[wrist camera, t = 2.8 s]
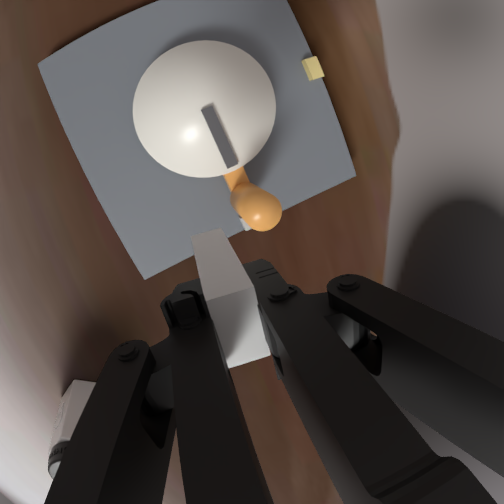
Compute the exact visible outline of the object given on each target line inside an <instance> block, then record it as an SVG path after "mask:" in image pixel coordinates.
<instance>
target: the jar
mask: <svg viewBox="0 0 504 504" xmlns="http://www.w3.org/2000/svg"><path fill="white" fill-rule="evenodd" d="M95 384H96V382H89V381H83V380H76V379H74V380H73V382H72V383H71V385H70V386H69V387H68V389H67V390H66V392H65V393H64V395H63V396H62V398H61V401H60V405H59V409H58V413H57V417H56V421H55V425H54V429H53V434H52V438H51V443H50V448H49V460H48V461H49V462H48V472H49V474H50V476H51V477H52V478H53V479H54V477H55V474H56V472H57V469H58V467H59V464H60V462H61V460H62V457H63V455H64V452H65V450H66V448H67V445H68V443H69V441H70V438H71V436H72V434H73V431H74V429H75V427H76V425H77V423H78V420H79V418H80V416H81V414H82V412H83V409H84V407H85V405H86V403H87V401H88V399H89V397H90V394H91V392H92V390H93V388H94V386H95Z"/></svg>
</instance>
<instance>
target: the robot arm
mask: <svg viewBox="0 0 504 504" xmlns="http://www.w3.org/2000/svg"><path fill="white" fill-rule="evenodd" d="M191 240H192V245H193V249H194V254H195V259H196V263H197V268H198V272H199V277H200V278H198V279H195V280H191V281H188V282H185V283H181V284H178V285H177V286H176V287H175V289H174V290H173V293H172V294H170V295H169V296H167V297H166V298H165V299H164V300H163V301H162V302H161V305H160V307H161V309H162V312H163V314H164V317H165V319H166V322H167V324H168V327H169V333H170V335H169V336H168V337H167V338H166V339H164V340H163V341H161V342H159V343H158V344H156V345H154V346H152V347H149V346H148V344H147V343H146V342H145V341H142V340H132V341H127V342H125V343H122V344H121V345H119V346H118V347H117V348H115V349H114V350H113V352H112V353H111V354H110V356H109V358H108V360H107V362H106V364H105V366H104V368H103V370H102V372H101V374H100V376H99V378H98V380H97V382H96V384H95V386H94V388H93V390H92V392H91V394H90V397H89V399H88V401H87V403H86V405H85V407H84V409H83V412H82V414H81V416H80V418H79V420H78V423H77V425H76V427H75V429H74V431H73V434H72V436H71V438H70V441H69V443H68V445H67V448H66V450H65V452H64V455H63V457H62V460H61V462H60V464H59V467H58V469H57V472H56V474H55V477H54V479H53V482H52V484H51V487H50V490H49V492H48V495H47V498H46V500H45V503H44V504H162V500H163V495H164V489H165V483H166V478H167V472H168V467H169V462H170V456H171V451H172V446H173V441H174V436H175V430H176V429H177V438H178V447H179V455H180V463H181V471H182V478H183V485H184V491H185V498H186V504H274V502H273V499H272V497H271V494H270V491H269V488H268V486H267V483H266V480H265V477H264V474H263V471H262V469H261V466H260V463H259V460H258V457H257V454H256V451H255V448H254V445H253V442H252V439H251V436H250V433H249V430H248V427H247V424H246V421H245V418H244V415H243V412H242V408H241V405H240V402H239V399H238V396H237V393H236V389H235V386H234V383H233V379H232V376H231V374H230V371H229V368H231V367H234V366H238V365H241V364H244V363H247V362H251V361H254V360H257V359H260V358H263V357H266V356H269V355H270V351H269V348H270V350H271V352H272V356H273V361H274V365H275V369H276V373H277V378H278V380H280V379H282V381H283V383H284V385H285V387H286V389H287V392H288V394H289V396H290V398H291V400H292V402H293V404H294V406H295V408H296V410H297V412H298V414H299V416H300V418H301V420H302V422H303V424H304V426H305V428H306V430H307V432H308V434H309V436H310V438H311V440H312V442H313V444H314V446H315V448H316V450H317V452H318V454H319V456H320V458H321V460H322V462H323V464H324V466H325V468H326V470H327V472H328V474H329V476H330V478H331V480H332V482H333V483H334V485H335V487H336V489H337V491H338V493H339V495H340V497H341V499H342V501H343V503H344V504H497V503H496V501H495V500H494V499H493V498H492V497H491V495H490V494H489V493H488V492H487V491H486V489H485V488H484V487H483V486H482V484H481V483H480V482H479V481H478V480H477V478H476V477H475V476H474V475H473V473H472V472H471V471H470V470H469V469H468V467H466V466H465V465H464V464H463V463H462V462H461V461H460V460H458V459H456V458H454V457H452V456H451V457H440V456H438V455H437V454H436V453H435V452H433V450H432V449H431V448H430V447H429V446H428V444H427V443H426V442H425V441H424V439H423V438H422V437H421V435H420V434H419V433H418V432H417V430H416V429H415V428H414V427H413V426H412V424H411V423H410V422H409V421H408V419H407V418H406V417H405V416H404V414H403V413H402V412H401V411H400V409H399V408H398V407H397V406H396V404H394V402H396V403H397V404H399V405H400V406H401V407H403V408H404V409H405V410H407V411H408V412H410V413H411V414H412V415H414V416H415V417H417V418H418V419H419V420H421V421H422V422H424V423H425V424H426V425H428V426H429V427H431V428H432V429H434V430H435V431H436V432H438V433H439V434H441V435H442V436H443V437H445V438H446V439H448V440H449V441H451V442H452V443H454V444H455V445H456V446H458V447H459V448H461V449H462V450H464V451H465V452H467V453H468V454H470V455H471V456H473V457H474V458H475V459H477V460H479V461H480V462H481V463H483V464H485V465H486V466H487V467H489V468H490V469H492V470H493V471H495V472H496V473H498V474H499V475H501V476H502V477H504V342H502V341H501V340H499V339H497V338H494V337H492V336H490V335H488V334H486V333H484V332H482V331H480V330H478V329H476V328H473V327H471V326H469V325H467V324H465V323H463V322H461V321H459V320H457V319H455V318H453V317H450V316H448V315H446V314H444V313H442V312H440V311H437V310H435V309H433V308H431V307H429V306H427V305H424V304H422V303H420V302H418V301H416V300H414V299H412V298H409V297H407V296H405V295H403V294H401V293H398V292H396V291H394V290H392V289H390V288H387V287H385V286H383V285H381V284H379V283H377V282H374V281H372V280H370V279H368V278H365V277H363V276H360V275H354V274H345V275H340V276H338V277H336V278H333V279H332V280H331V281H329V283H328V284H327V292H325V293H318V294H304V293H303V292H302V290H301V289H300V288H298V287H297V286H294V285H290V284H287V283H286V282H285V280H284V279H283V278H282V277H281V275H280V274H279V273H278V272H277V270H276V269H275V268H274V267H273V265H272V264H271V263H270V262H268V261H266V260H263V259H259V260H256V261H253V262H249V263H246V264H241V262H240V261H239V259H238V257H237V255H236V254H235V252H234V250H233V248H232V246H231V245H230V243H229V241H228V239H227V238H226V236H225V234H224V232H223V230H222V229H221V228H218V229H214V230H211V231H207V232H204V233H200V234H197V235H193V236H191ZM370 330H371V331H373V332H374V333H375V334H376V335H377V337H376V336H374V335H372V334H371V333H370ZM268 346H269V347H268ZM391 399H392V400H393V401H394V402H393V401H392V400H391Z"/></svg>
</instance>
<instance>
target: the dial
mask: <svg viewBox="0 0 504 504" xmlns="http://www.w3.org/2000/svg"><path fill="white" fill-rule="evenodd" d="M275 116H276V100H275V94H274V89H273V87H272V84H271V81H270V79H269V77H268V75H267V73H266V72H265V71H264V69H263V68H262V66H261V65H260V64H259V63H258V62H257V61H256V60H255V59H254V58H253V57H252V56H250V55H249V54H248V53H246V52H245V51H243V50H242V49H240V48H238V47H235V46H233V45H230V44H227V43H224V42H219V41H210V40H202V41H193V42H188V43H184V44H181V45H179V46H176V47H174V48H172V49H170V50H168V51H167V52H165V53H164V54H162V55H161V56H159V57H158V58H157V59H156V60H155V61H154V62H153V63H152V64H151V65H150V66H149V67H148V68H147V70H146V71H145V73H144V74H143V76H142V77H141V79H140V81H139V83H138V86H137V89H136V92H135V95H134V100H133V121H134V126H135V130H136V132H137V135H138V138H139V140H140V141H141V143H142V145H143V147H144V148H145V149H146V151H147V152H148V153H149V154H150V155H151V156H152V157H153V158H154V159H155V160H156V161H157V162H158V163H160V164H161V165H162V166H164V167H166V168H167V169H169V170H171V171H173V172H176V173H178V174H181V175H185V176H189V177H198V178H208V177H216V176H220V175H223V176H224V179H225V181H226V183H227V185H228V187H229V190H230V192H231V195H230V203H231V205H232V207H233V209H234V210H235V211H236V212H237V213H238V214H239V215H240V216H241V217H242V219H243V220H244V221H245V222H246V223H247V224H248V225H249V226H250V227H251V228H252V229H254V230H257V231H267V230H270V229H272V228H273V227H274V226H276V225H277V223H278V222H279V220H280V218H281V215H282V207H281V203H280V201H279V200H278V199H277V198H276V197H275V196H274V195H272V194H270V193H269V192H267V191H265V190H263V189H262V188H260V187H258V186H256V185H254V184H252V183H250V181H249V179H248V177H247V175H246V172H245V170H244V168H243V166H244V165H245V164H246V163H248V162H249V161H250V160H252V159H253V158H254V157H255V156H256V155H257V154H258V153H259V151H260V150H261V149H262V148H263V146H264V145H265V143H266V142H267V140H268V138H269V136H270V134H271V131H272V128H273V125H274V121H275Z"/></svg>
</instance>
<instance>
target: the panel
mask: <svg viewBox="0 0 504 504" xmlns="http://www.w3.org/2000/svg"><path fill="white" fill-rule="evenodd" d="M202 40H210V41H219V42H224V43H227V44H230V45H233V46H235V47H238V48H240V49H242V50H243V51H245V52H246V53H248V54H249V55H250V56H252V57H253V58H254V59H255V60H256V61H257V62H258V63H259V64H260V65H261V66H262V68H263V69H264V71H265V72H266V73H267V75H268V77H269V79H270V81H271V84H272V87H273V89H274V94H275V100H276V116H275V121H274V125H273V128H272V131H271V134H270V136H269V138H268V140H267V142H266V143H265V145H264V146H263V148H262V149H261V150H260V151H259V153H258V154H257V155H256V156H255V157H254V158H253V159H252V160H250V161H249V162H248V163H246V164H245V165H244V166H243V168H244V170H245V172H246V175H247V177H248V179H249V181H250V183H252V184H254V185H256V186H258V187H260V188H262V189H263V190H265V191H267V192H269V193H270V194H272V195H274V196H275V197H276V198H277V199H278V200H279V201H280V203H281V207H282V211H283V210H285V209H287V208H289V207H291V206H294V205H296V204H298V203H300V202H302V201H304V200H306V199H308V198H310V197H312V196H314V195H316V194H319V193H321V192H323V191H325V190H327V189H329V188H331V187H333V186H335V185H338V184H340V183H342V182H344V181H346V180H348V179H350V178H352V177H355V176H356V173H355V170H354V167H353V163H352V160H351V157H350V154H349V151H348V148H347V145H346V142H345V139H344V136H343V133H342V130H341V127H340V124H339V122H338V119H337V116H336V113H335V111H334V108H333V105H332V103H331V100H330V97H329V95H328V92H327V89H326V87H325V84H324V82H323V79H322V77H324V73H323V71H322V69H321V66H320V64H319V61H318V59H317V57H316V56H315V57H313V55H312V53H311V51H310V49H309V46H308V44H307V42H306V40H305V37H304V35H303V33H302V31H301V29H300V27H299V24H298V22H297V20H296V18H295V16H294V14H293V12H292V10H291V8H290V6H289V4H288V2H287V0H159V1H156V2H154V3H151V4H149V5H146V6H144V7H141V8H139V9H137V10H134V11H132V12H130V13H128V14H125V15H123V16H121V17H119V18H117V19H115V20H113V21H111V22H109V23H107V24H105V25H103V26H101V27H99V28H97V29H95V30H93V31H91V32H89V33H88V34H86V35H84V36H82V37H80V38H79V39H77V40H75V41H73V42H72V43H70V44H68V45H67V46H65V47H63V48H62V49H60V50H58V51H57V52H55V53H54V54H52V55H50V56H49V57H47V58H46V59H44V60H43V61H41V62H40V63H38V67H39V69H40V72H41V75H42V77H43V80H44V82H45V85H46V88H47V90H48V93H49V95H50V97H51V100H52V102H53V105H54V107H55V109H56V112H57V114H58V116H59V119H60V121H61V123H62V126H63V128H64V130H65V132H66V135H67V137H68V139H69V141H70V143H71V145H72V148H73V150H74V152H75V154H76V156H77V158H78V160H79V162H80V164H81V166H82V168H83V170H84V172H85V174H86V176H87V178H88V180H89V182H90V184H91V186H92V188H93V190H94V192H95V194H96V196H97V198H98V200H99V201H100V203H101V205H102V207H103V209H104V211H105V213H106V214H107V216H108V218H109V220H110V222H111V224H112V225H113V227H114V229H115V231H116V232H117V234H118V236H119V238H120V239H121V241H122V243H123V245H124V246H125V248H126V250H127V252H128V253H129V255H130V257H131V258H132V260H133V262H134V263H135V265H136V267H137V268H138V270H139V272H140V273H141V275H142V276H143V278H144V280H145V279H147V278H149V277H151V276H153V275H155V274H157V273H159V272H161V271H163V270H165V269H167V268H169V267H171V266H173V265H175V264H177V263H179V262H181V261H183V260H184V259H186V258H188V257H190V256H192V255H194V249H193V245H192V240H191V236H193V235H197V234H200V233H204V232H207V231H211V230H214V229H218V228H221V229H222V230H223V232H224V234H225V236H226V238H228V237H230V236H232V235H234V234H236V233H238V232H240V231H242V230H244V229H245V230H246V231H247V230H249V229H251V227H250V226H249V225H248V224H247V223H246V222H245V221H244V220H243V219H242V217H241V216H240V215H239V214H238V213H237V212H236V211H235V210H234V209H233V207H232V205H231V203H230V195H231V192H230V190H229V187H228V185H227V183H226V181H225V179H224V176H223V175H220V176H216V177H208V178H198V177H189V176H185V175H181V174H178V173H176V172H173V171H171V170H169V169H167V168H166V167H164V166H162V165H161V164H160V163H158V162H157V161H156V160H155V159H154V158H153V157H152V156H151V155H150V154H149V153H148V152H147V151H146V149H145V148H144V147H143V145H142V143H141V141H140V140H139V138H138V135H137V132H136V130H135V126H134V121H133V100H134V95H135V92H136V89H137V86H138V83H139V81H140V79H141V77H142V76H143V74H144V73H145V71H146V70H147V68H148V67H149V66H150V65H151V64H152V63H153V62H154V61H155V60H156V59H157V58H158V57H159V56H161V55H162V54H164V53H165V52H167V51H168V50H170V49H172V48H174V47H176V46H179V45H181V44H184V43H188V42H193V41H202Z"/></svg>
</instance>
